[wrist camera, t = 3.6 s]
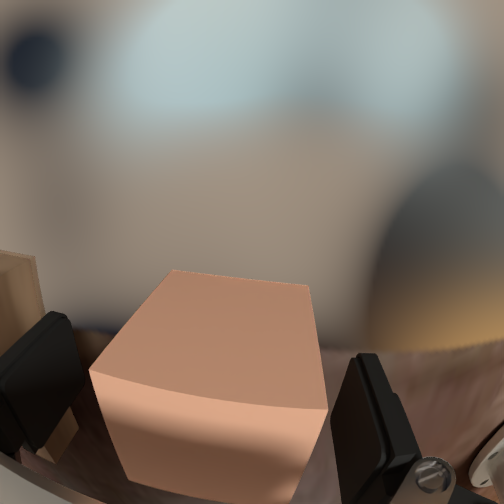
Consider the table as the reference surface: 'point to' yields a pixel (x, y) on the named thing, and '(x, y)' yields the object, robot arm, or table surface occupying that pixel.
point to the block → (215, 388)
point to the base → (19, 322)
